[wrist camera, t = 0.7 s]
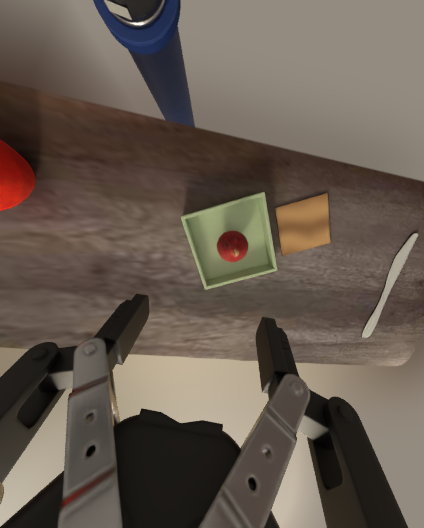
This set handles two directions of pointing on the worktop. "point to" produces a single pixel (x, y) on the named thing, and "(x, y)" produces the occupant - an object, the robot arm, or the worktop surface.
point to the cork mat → (303, 224)
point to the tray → (231, 219)
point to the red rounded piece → (232, 246)
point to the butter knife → (389, 283)
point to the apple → (14, 177)
